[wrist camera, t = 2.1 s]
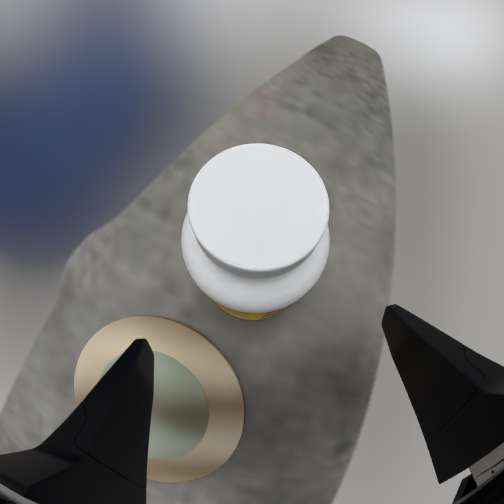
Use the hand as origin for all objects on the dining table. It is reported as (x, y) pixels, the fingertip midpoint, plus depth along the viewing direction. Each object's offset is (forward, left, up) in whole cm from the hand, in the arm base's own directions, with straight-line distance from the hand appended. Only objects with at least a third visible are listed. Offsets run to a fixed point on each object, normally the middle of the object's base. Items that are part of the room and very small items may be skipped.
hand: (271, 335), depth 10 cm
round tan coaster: (-4, +9, -11) cm, 15 cm away
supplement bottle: (+4, -1, -11) cm, 12 cm away
